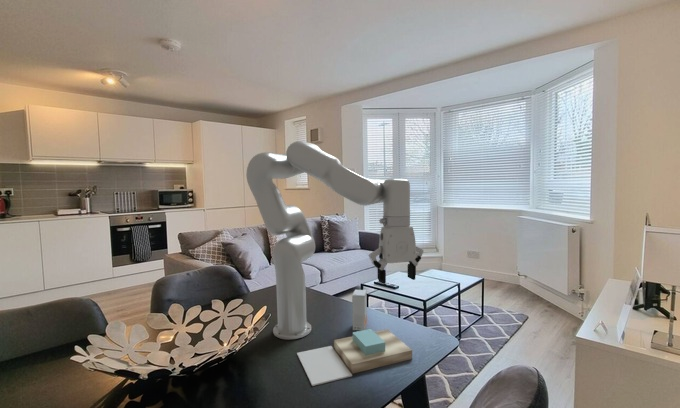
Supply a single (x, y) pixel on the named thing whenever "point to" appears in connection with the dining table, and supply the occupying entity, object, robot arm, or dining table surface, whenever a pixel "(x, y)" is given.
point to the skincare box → (359, 309)
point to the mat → (323, 365)
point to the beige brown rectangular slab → (362, 362)
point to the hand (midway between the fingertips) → (397, 280)
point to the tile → (368, 341)
